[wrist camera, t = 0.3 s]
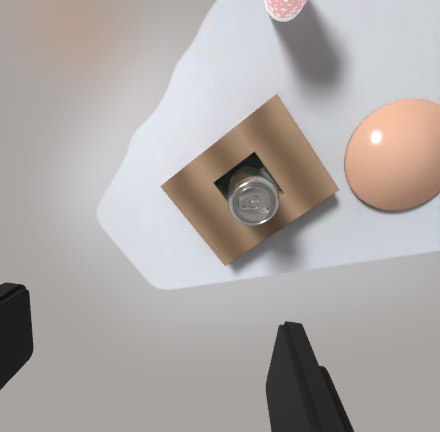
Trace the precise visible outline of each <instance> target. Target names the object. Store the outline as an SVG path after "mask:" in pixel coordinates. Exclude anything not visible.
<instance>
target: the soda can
mask: <svg viewBox="0 0 440 432" xmlns="http://www.w3.org/2000/svg"><path fill="white" fill-rule="evenodd" d="M278 206H279V194H278V191H277V189H276V187H275V186H274V184H273V183H272V182H271V181H270V180H269V179H268V178H267V177H266V176H265V175H264V174H263V173H262V172H261V171H260V170H258V169H257V168H254V167H249V166H247V167H242V168H239V169H238V170H236V171H235V172H234V173H233V175H232V176H231V178H230V181H229V191H228V208H229V210H230V213H231V214H232V216H233V217H234V218H235V219H236V220H237V221H239V222H240V223H242V224H245V225H250V226H256V225H261V224H263V223H265V222H267V221H269V220H270V219H271V218H272V217H273V216H274V214H275V213H276V211H277V209H278Z"/></svg>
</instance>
